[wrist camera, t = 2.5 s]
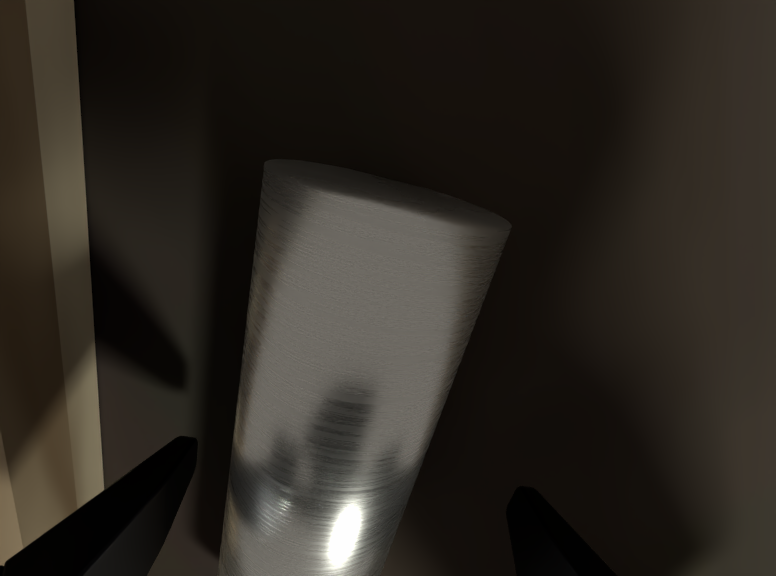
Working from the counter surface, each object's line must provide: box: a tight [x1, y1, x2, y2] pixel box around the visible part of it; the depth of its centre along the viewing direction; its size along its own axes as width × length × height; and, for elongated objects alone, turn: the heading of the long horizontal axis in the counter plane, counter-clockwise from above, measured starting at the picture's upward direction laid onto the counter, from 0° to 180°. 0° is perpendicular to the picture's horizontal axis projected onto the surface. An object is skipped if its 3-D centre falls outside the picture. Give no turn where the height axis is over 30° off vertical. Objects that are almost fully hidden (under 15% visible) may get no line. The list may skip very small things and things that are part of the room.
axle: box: [217, 159, 512, 576], centre depth 9 cm, size 14×4×4 cm
